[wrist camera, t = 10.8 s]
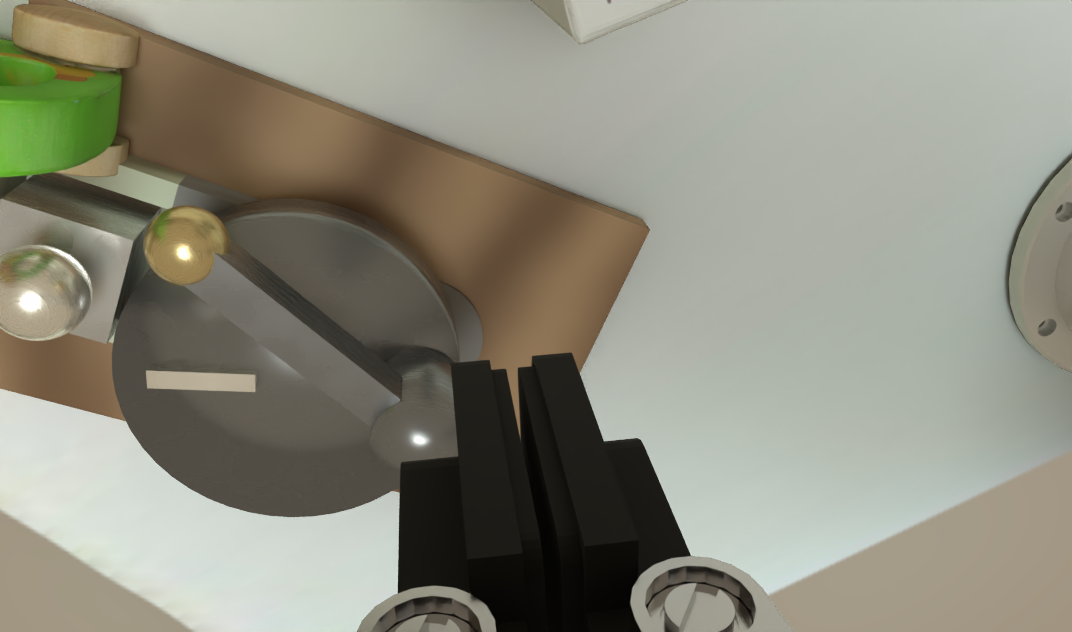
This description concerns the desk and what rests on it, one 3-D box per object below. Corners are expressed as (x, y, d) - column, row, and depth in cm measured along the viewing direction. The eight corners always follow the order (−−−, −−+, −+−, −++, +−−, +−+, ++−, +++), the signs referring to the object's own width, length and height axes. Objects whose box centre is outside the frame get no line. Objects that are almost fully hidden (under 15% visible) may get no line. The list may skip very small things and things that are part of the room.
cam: (474, 172, 32) (491, 245, 25) (447, 470, 38) (455, 596, 31) (124, 144, 30) (39, 215, 23) (149, 463, 36) (87, 597, 29)
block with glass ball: (161, 206, 32) (104, 275, 26) (135, 301, 33) (76, 388, 27) (42, 168, 30) (-45, 231, 25) (22, 268, 32) (-65, 349, 26)
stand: (642, 219, 36) (672, 261, 32) (504, 504, 41) (515, 571, 37) (44, -9, 29) (-16, 6, 25) (-30, 362, 35) (-89, 424, 31)
